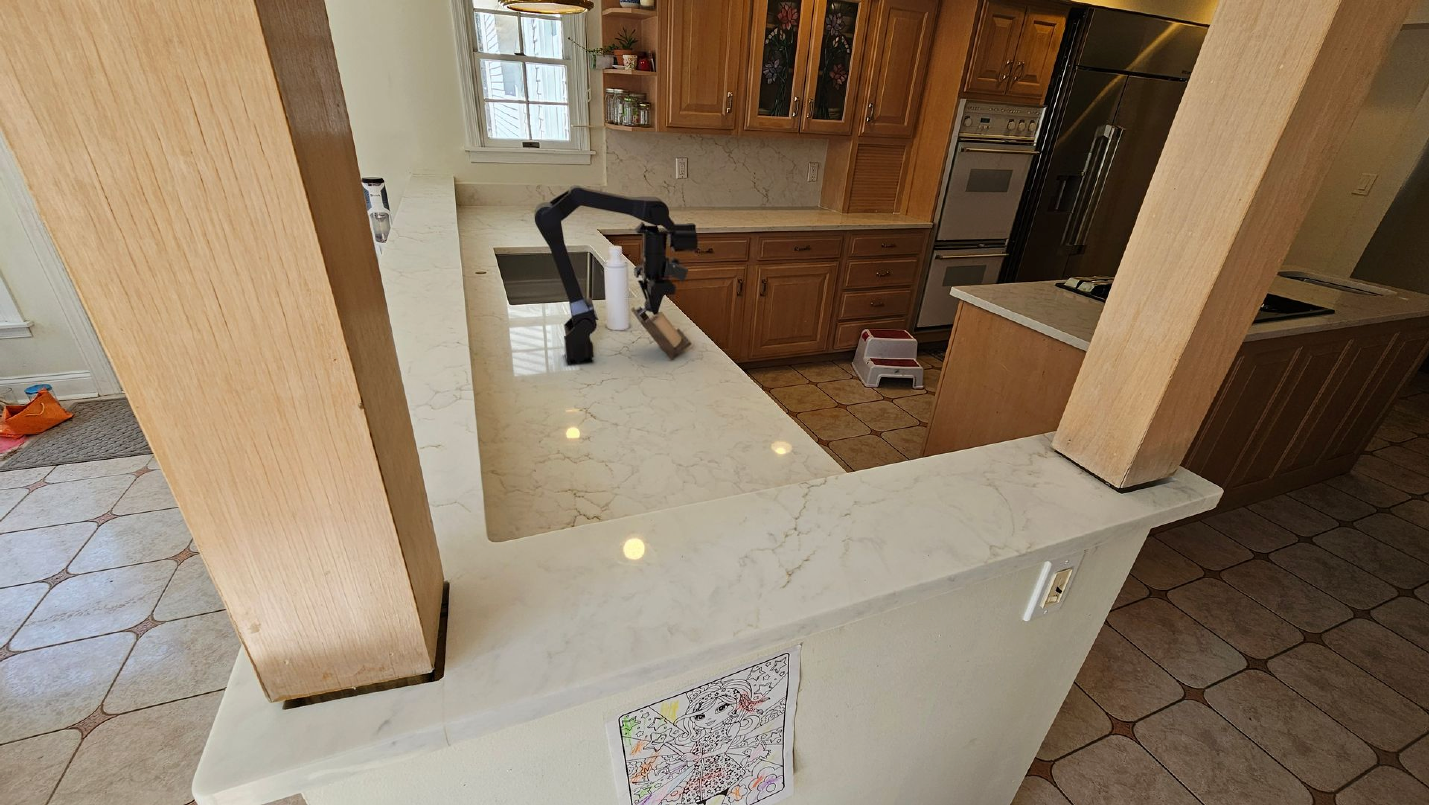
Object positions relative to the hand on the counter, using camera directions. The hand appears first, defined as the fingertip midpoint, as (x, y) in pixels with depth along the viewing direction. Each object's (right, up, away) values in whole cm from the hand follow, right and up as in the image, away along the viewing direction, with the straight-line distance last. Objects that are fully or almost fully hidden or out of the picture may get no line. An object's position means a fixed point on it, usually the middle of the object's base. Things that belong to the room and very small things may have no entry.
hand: (653, 311), depth 157 cm
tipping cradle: (-1, -5, +2) cm, 6 cm away
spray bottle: (-13, -1, +24) cm, 27 cm away
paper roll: (+3, -4, +3) cm, 6 cm away
